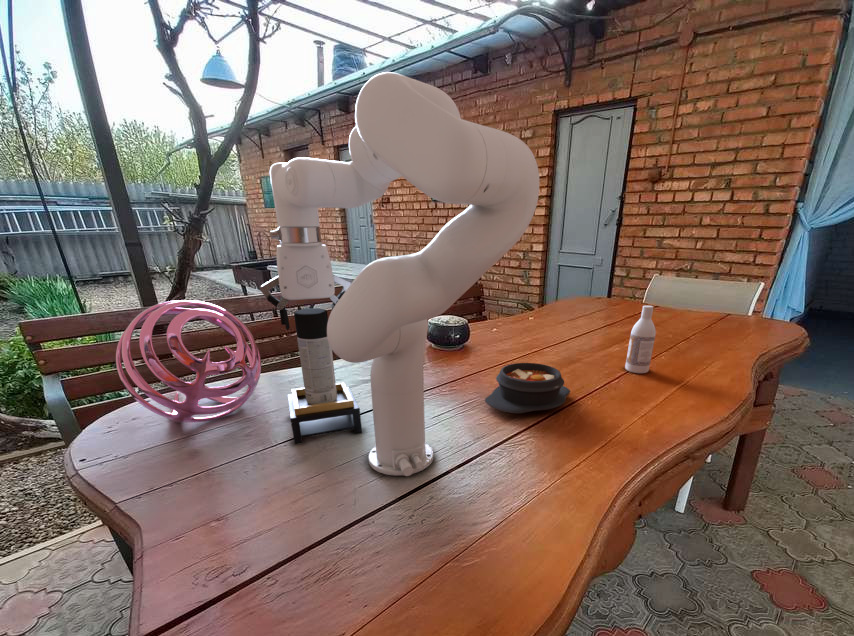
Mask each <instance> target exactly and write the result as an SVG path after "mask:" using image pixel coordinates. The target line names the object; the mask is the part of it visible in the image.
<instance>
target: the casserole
mask: <svg viewBox="0 0 854 636" xmlns="http://www.w3.org/2000/svg"><path fill="white" fill-rule="evenodd" d="M495 380H496V382H497V383H498V386H497V387H496V388H494V389H493V390H492V392H491V394H489V395H488V396H487V397H485V398H484V402H485V404H487V405H488V406H489V407H491V408H492V409H495V410H498V411H501V412H505V413H509V414H524V413H529V412H536V411H537V412H538V411H549V410H552V409H555V408H558V407H560V406H562V405H563V404H564V403H565V402H566V399H567V397H568V396H569V394H570V393H571V390H570V389H569V388H568V387H567V386H565V380H564V378H563V377H562V373H561V372H560V370H558V369H557V368H555V367H553V366H550V365H547V364H542V363H537V362H516V363H511V364H510V363H509V364H507V365H504V366H502V367H501V368H500V371H499V373H498V374H497V376H496V378H495Z"/></svg>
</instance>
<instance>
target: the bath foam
mask: <svg viewBox="0 0 854 636" xmlns="http://www.w3.org/2000/svg"><path fill="white" fill-rule="evenodd" d="M653 310H654V306H653V305H647V304H646V305H645V304H644V305H642V310H641V314H640V318H639V319H638V320H637V321H636V322H635V324H634V325H633V327H632V329H631V331H630V335H629V336H630V337H629V343H628V348H627V353H626V360H625V365H624V368H625V370H626V371H627V372H629V373H632V374H646V373H648V372H649V370H650V366H651V361H652V356H653V350H654V346H655V340H656V334H657V330H656V326H655V324H654V322H653V320H652V317H653Z"/></svg>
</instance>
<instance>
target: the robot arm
mask: <svg viewBox="0 0 854 636" xmlns="http://www.w3.org/2000/svg"><path fill="white" fill-rule="evenodd" d="M354 110H355V111H354V120H355V126H354V127H353V128H352V130H351V131H350V134H349V138H348V151H349V156H350V159H351V161H347V162H346V161H339V160H331V159H330V160H329V159H322V158H313V157H304V156H303V157H301V156H300V157H294V158H292V159H290V160H289V161H288V162H276V163H273V164H272V165H271V166H270V167H269V168H270V169H269V177H270V184H271V190H272V197H273V204H274V209H275V217H276V224H277V228H276V229H274V230H270V231H269V232H270V237H271V239H273V240H274V239H275V240H278V241H279V242H280V243H279V244H278V245H276V268H277V276H275V277H273V278H272V279H269V281H266V282H265V283H263V284H262V285H260V287H259V291H260V292H261V294H263V296H264V298H266V300H267V301H268V302H269V303H270V304H271V305H273V306H274V307H276V308H277V310H278V312H279V318H280V325H281V326H285V330H286V331H287V330H288V331H289V330H290V329H291V328H290V327H291V326H290V321H289V314H288V309H287V307H286V305H287V304H288V302H289V301H298V300H299V301H300V300H315V299H316V300H317V299H318V300H319V299H329V300H331V301H332V304H331V311H330V314H329V316H328V323H327V338H328V342H329V345H330V347H331V349H332V353H334V354H335V355H336V356H337V357H338V358H340V359H341V360H343V361H345V362H349V363H351V364H353V363H354V364H359V363H364V362H368V361H372V362H371V368H370V377H369V378H370V380H369V381H370V393H371V402H372V403H371V405H372V418H373V429H374V430H373V432H374V442H375V446H374V447H373V448H372V449H371V450H370V451H369V453H368V456H367V457H368V464H369V466H370V467H371V469H373V470H374V471H376V472H378V473H380V474H383V475H386V476H397V477H398V476H405V477H409V476H411V475H413V474H416V473H419V472H421V471H424V470H426V469H427V468H428V467H429V466H430V465H431V464H432V463H433V460H434V450H433V448H432V447H431V446H430V445H429V444H428V443H426V426H425V422H426V421H425V420H426V419H425V389H424V387H425V382H424V381H425V380H424V377H425V376H424V364H425V361H424V359H425V349H426V343H427V338H428V332H429V331H428V330H429V320H430V319H433V318H436V317H439V316H440V315H442V314H444V313H445V312H447V310H448V309H450V308H451V307H452V306H453V304H455V303H456V302H457V301H458V300H459V299H460V298H461V297H462V296H463V295H464V294H465V293H466V292H467V291H468V290H469V289H471V287H473V286H474V285H475V284H476V283H477V282H478V281H479V280H480V279H481V278H482V277H483V276H484V275H485V274H486V273H487V272H488V271H489V270H490V269H491V268H492V267H493V266H494V265H496V263H498V262H499V261H500V260H501V259H503V257H504V256H505V255H506V254H508V252H509V251H510V250H511V249H512V248H513V247H514V246H515V245H516V244H517V243H518V241H519V240H520V239H521V238H522V236H523V235H524V234H525V232H526V231H527V229H528V228H529V225H530V223H531V222H532V220H533V217H534V215H535V212H536V209H537V205H538V201H539V195H540V172H539V166H538V162H537V159H536V157H535V155H534V153H533V151H532V150H531V149H530V147H529V145H527V144H526V143H525V142H524V141H523V140H522V139H520V138H519V137H517V136H515V135H514V134H512V133H510V132H507V131H505V130H501V129H497V128H495V127H491V126H487V125H483V124H480V123H476V122H473V121H469V120H466V119H463V118H462V117H461V114H460V111H459V108H458V106H457V104H456V103H455V102H454V100H453V99H452V97H450V95H449V94H448V93H446V92H445V91H443V90H442V89H441V88H438V86H437V87H436V86H435V85H432V84H430V83H426V82H423V81H421V80H417V79H414V78H412V77H409V76H406V75H404V74H401V73H398V72H391V71H385V72H380V73H377V74H375V75H374V76H372V77H370V78H369V79H368V80H367V81H366V83H364V85H363V86H362V88H360V91H359V93H358V95H357V98H356V102H355V109H354ZM400 178H403V179H405V180H406V181H407V182H409V183H410V184H411V185H412V186H414V188H416V189H418V190H419V191H420V192H422V193H423V194H424V195H426V196H427V197H429V198H431V199H433V200H435V201H437V202H440V203H445V204H448V205H449V204H450V205H465V206H466V205H467V206H468V207H466V208H465V209H464V210H463V211H462V212H459V214H458V215H456V216H454V217H453V218H452V219H451V220H449V221H448V222H447V223H445V225H443V227H442V228H441V229H440V230H439V232H438V233H437V234H436V235H435V236H434V238H433V239H432V240H431V241H430V242H429V243H428V244H427V245H426V246H425V247H424V248H422V249H421V250H420V251H417V252H413V253H410V254H404V255H395V256H394V255H392V256H385V257H381V258H378V259H376V260H373V261H371V262H370V263H368V264H367V265H365V266H364V267H363V268H362V269H361V271H359V273H358V274H357V275H356V276H355V277H354V279H353V281H348V280H346V279H345V278H342V277H340V276H337V275H335V274H334V273H333V268H332V263H331V257H330V253H329V250H328V249H329V248H328V246H327V244H323V243H322V234H321V227H320V226H321V224H320V216H319V215H320V214H319V209H326V208H330V209H353V208H355V209H356V208H358V207H361V206H364V205H366V204H369V203H371V202H374V201H377V200H378V199H380V198H382V197H383V196H384V195H385V194H386V192H387V190H388V189H389V187H390V185H391V183H392V182H394V181H395V180H398V179H400ZM335 283H336V284H338V285H341V286H342V288H341V291H340V292H339V293H338V294H337V295H335V294H336V293H335V292H336V289H335ZM277 286H279V291H280V294H281V296H280V297H279V299H278V298H277V297H275V296H274V294H272V292H271V291H270V290H271V289H273V288H275V287H277Z"/></svg>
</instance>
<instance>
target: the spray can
mask: <svg viewBox="0 0 854 636" xmlns="http://www.w3.org/2000/svg"><path fill="white" fill-rule="evenodd" d="M293 316H294V326H295V331H296V339H297V347H298V353H299V354H298V355H299V359H300V360H299V361H300V366H301V367H300V368H301V373H302V380H303V388H305V395H306V400H307V403H308V404H310V405H315V404H322V403H329V402H335V401H336V400H337V390H336V383H337V382H336V374H335V365H334V358H333V357H334V356H333V350H332V349H331V347H330V345H329V342H328V338H327V323H328V319H329V316H328V311H327V309H325V308H320V307H318V308H317V307H309V308H302V309H298V310H296V311H295V312H294V314H293Z"/></svg>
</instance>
